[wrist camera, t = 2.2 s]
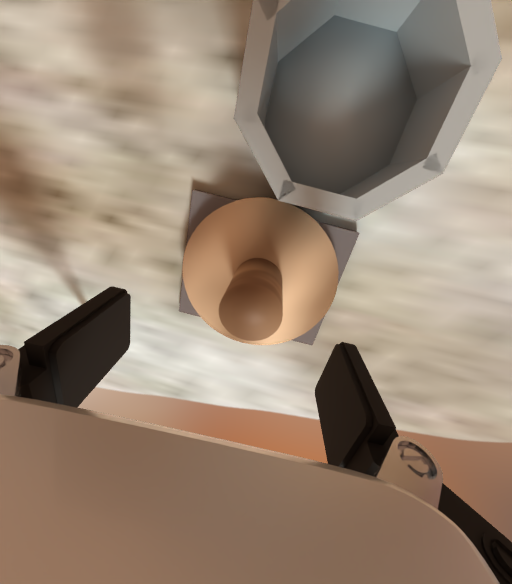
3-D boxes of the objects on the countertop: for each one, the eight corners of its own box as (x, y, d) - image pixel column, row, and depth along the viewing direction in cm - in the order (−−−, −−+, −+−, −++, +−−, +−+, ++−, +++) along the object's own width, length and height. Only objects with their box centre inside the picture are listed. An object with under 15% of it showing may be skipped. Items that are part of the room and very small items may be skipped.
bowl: (459, 31, 13) (559, -53, 8) (376, 221, 17) (411, 235, 12) (276, -18, 13) (274, -131, 8) (238, 185, 17) (222, 186, 12)
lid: (361, 221, 16) (400, 239, 11) (307, 351, 21) (315, 409, 16) (196, 178, 16) (154, 175, 11) (180, 319, 21) (145, 366, 16)
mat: (356, 231, 17) (359, 233, 17) (311, 341, 22) (312, 345, 21) (195, 189, 17) (192, 189, 17) (181, 308, 21) (178, 311, 21)
